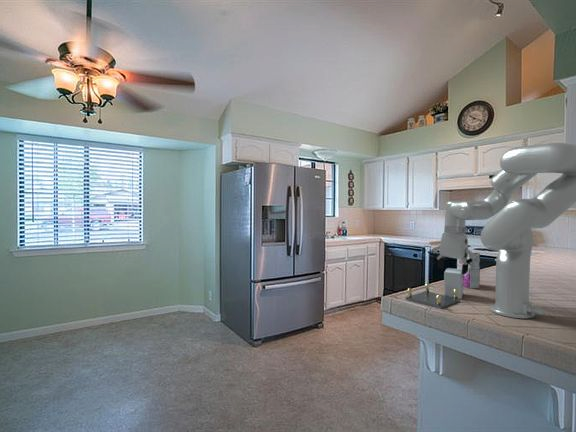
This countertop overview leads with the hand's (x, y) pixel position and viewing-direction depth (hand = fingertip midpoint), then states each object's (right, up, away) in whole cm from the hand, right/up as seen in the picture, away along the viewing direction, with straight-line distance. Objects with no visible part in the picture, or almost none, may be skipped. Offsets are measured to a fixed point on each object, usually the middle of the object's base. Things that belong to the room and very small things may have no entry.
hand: (452, 271), depth 131 cm
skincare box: (0, -10, -1) cm, 10 cm away
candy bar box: (+16, -10, +16) cm, 24 cm away
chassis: (-12, -10, -8) cm, 18 cm away
